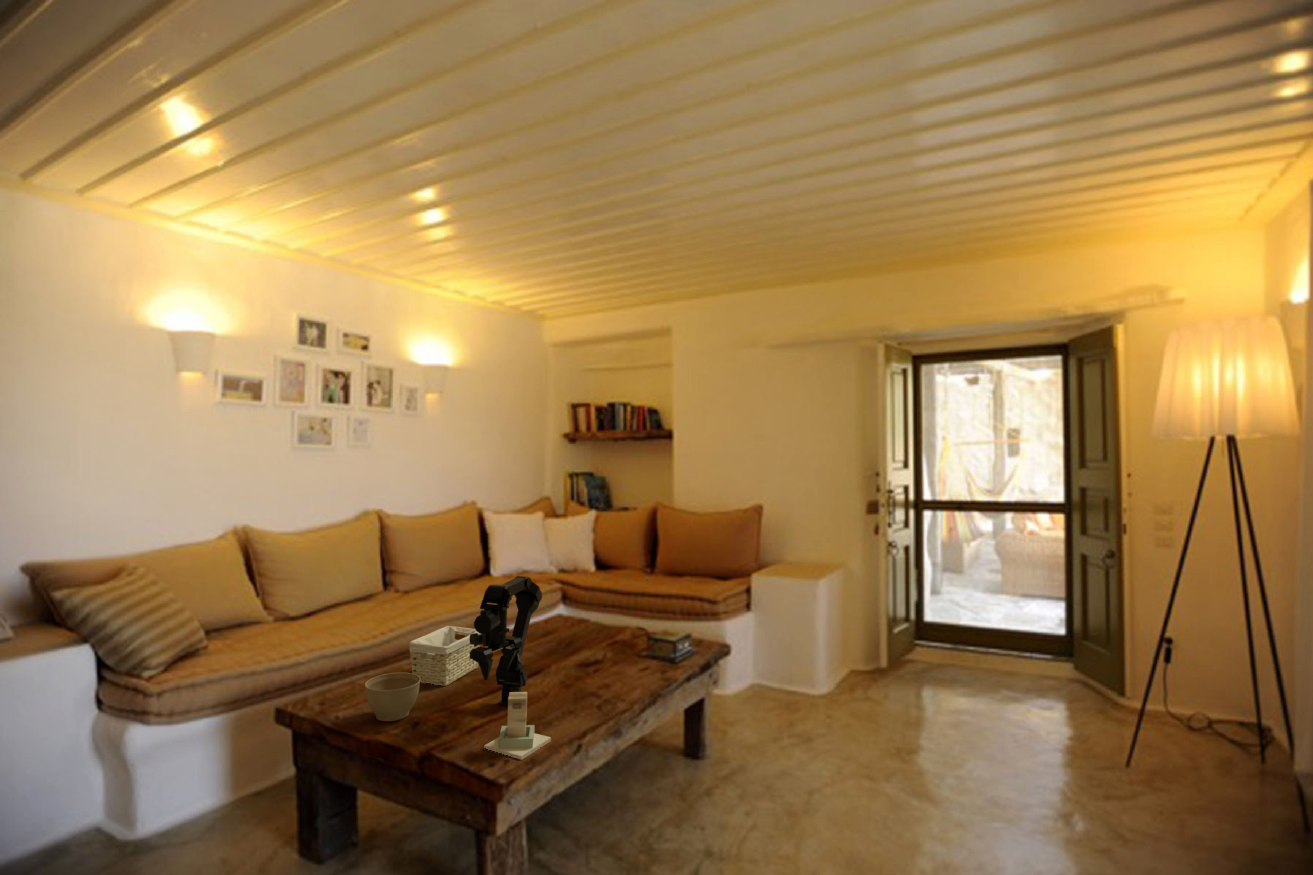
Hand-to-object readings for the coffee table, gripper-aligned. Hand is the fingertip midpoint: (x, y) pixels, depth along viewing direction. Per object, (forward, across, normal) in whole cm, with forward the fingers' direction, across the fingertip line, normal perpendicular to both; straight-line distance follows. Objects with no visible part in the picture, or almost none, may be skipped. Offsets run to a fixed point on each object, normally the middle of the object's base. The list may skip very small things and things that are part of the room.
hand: (495, 675), depth 212 cm
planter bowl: (+13, +15, -28) cm, 34 cm away
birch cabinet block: (+12, +12, +18) cm, 25 cm away
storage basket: (+13, -21, -41) cm, 48 cm away
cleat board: (+13, +12, +18) cm, 25 cm away
